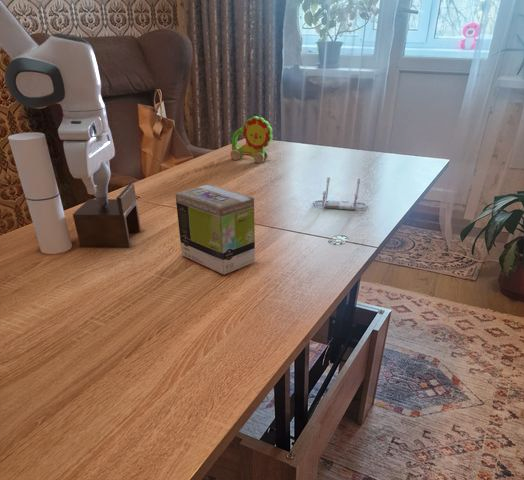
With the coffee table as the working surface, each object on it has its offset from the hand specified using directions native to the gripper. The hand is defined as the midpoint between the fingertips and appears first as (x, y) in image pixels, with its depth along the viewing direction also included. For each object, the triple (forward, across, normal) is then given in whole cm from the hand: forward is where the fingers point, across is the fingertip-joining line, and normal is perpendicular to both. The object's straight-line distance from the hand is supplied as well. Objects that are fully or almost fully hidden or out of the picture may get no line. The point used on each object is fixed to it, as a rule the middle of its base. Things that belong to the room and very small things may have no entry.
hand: (99, 187), depth 112 cm
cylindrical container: (+13, +6, -11) cm, 18 cm away
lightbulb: (+5, 0, 0) cm, 5 cm away
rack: (+13, 0, 0) cm, 13 cm away
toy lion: (+13, -76, +30) cm, 83 cm away
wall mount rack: (+13, -28, +60) cm, 67 cm away
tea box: (+13, +11, +28) cm, 33 cm away
